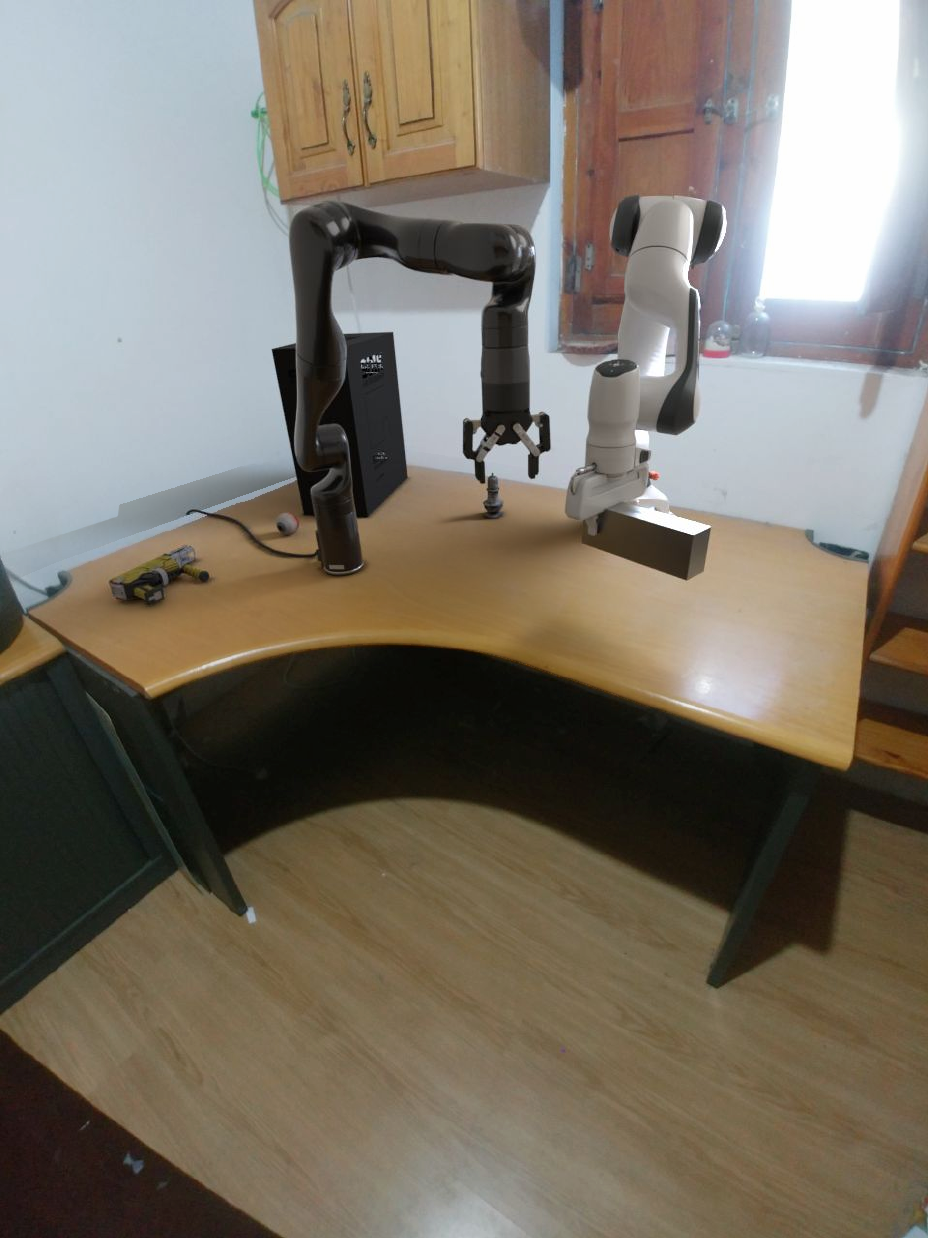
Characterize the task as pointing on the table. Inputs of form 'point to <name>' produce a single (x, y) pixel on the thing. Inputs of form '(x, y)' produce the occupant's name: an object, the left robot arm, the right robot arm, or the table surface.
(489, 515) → the salt shaker
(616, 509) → the bar
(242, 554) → the table surface
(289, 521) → the eyeball
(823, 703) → the table surface
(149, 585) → the toy gun
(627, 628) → the table surface
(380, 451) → the cardboard box
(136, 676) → the table surface
